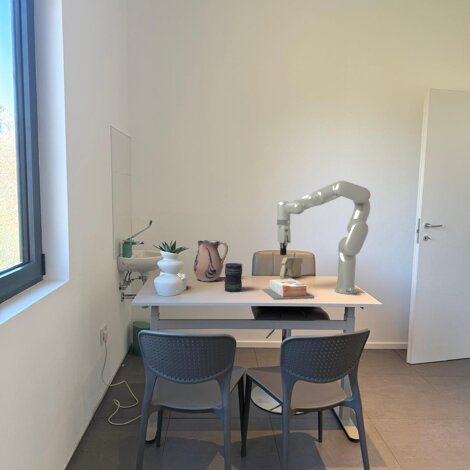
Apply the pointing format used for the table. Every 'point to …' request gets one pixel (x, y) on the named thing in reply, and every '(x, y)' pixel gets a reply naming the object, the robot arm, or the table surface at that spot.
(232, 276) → the storage jar
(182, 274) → the white gift box
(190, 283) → the table surface
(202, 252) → the ceramic pitcher
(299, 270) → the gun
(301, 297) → the mat
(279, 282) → the cracker box
